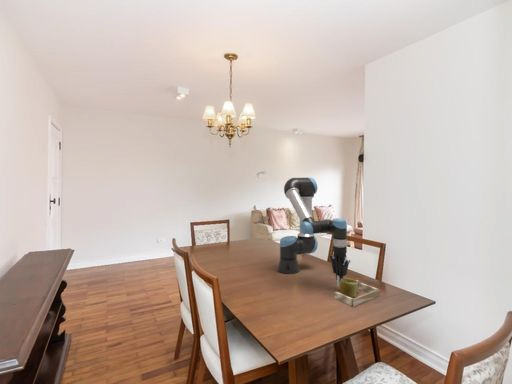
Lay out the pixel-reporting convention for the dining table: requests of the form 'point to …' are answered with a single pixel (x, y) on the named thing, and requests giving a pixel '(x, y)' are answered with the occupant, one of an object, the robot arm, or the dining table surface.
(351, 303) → the cradle
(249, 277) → the dining table surface
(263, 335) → the dining table surface
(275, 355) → the dining table surface
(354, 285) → the mug
